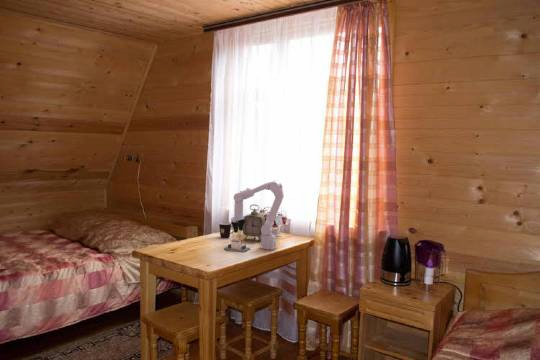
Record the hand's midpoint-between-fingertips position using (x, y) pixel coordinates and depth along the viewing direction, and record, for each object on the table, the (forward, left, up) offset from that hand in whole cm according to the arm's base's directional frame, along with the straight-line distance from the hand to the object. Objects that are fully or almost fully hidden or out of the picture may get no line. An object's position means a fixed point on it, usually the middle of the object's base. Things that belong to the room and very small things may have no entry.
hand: (238, 231), depth 296 cm
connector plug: (-3, +10, -8) cm, 13 cm away
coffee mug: (+17, -17, -10) cm, 26 cm away
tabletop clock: (-3, -20, -10) cm, 22 cm away
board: (-4, +10, -9) cm, 14 cm away
